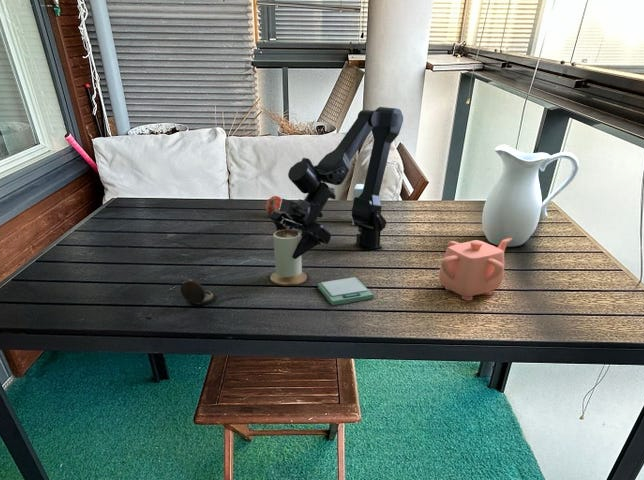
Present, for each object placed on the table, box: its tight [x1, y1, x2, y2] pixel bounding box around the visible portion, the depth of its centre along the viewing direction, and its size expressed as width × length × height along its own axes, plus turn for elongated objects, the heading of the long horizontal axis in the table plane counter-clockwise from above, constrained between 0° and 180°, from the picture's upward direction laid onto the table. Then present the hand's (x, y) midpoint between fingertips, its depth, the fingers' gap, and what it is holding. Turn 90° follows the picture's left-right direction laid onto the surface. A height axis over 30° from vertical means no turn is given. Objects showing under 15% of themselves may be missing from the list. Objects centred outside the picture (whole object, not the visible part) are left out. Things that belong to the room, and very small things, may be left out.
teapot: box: [438, 238, 512, 301], centre depth 122 cm, size 17×16×13 cm
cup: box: [272, 228, 303, 277], centre depth 129 cm, size 7×7×10 cm
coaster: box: [270, 271, 308, 287], centre depth 133 cm, size 10×10×1 cm
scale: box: [317, 276, 374, 306], centre depth 125 cm, size 11×11×2 cm
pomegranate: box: [265, 195, 285, 216], centre depth 178 cm, size 7×7×10 cm
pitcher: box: [481, 144, 580, 248], centre depth 147 cm, size 24×17×28 cm
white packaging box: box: [351, 183, 364, 226], centre depth 169 cm, size 7×7×13 cm
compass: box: [180, 278, 215, 306], centre depth 120 cm, size 8×8×7 cm
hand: (284, 254), depth 128 cm, fingers closed on cup, 7 cm apart
